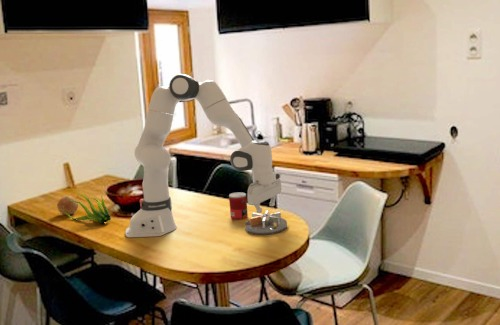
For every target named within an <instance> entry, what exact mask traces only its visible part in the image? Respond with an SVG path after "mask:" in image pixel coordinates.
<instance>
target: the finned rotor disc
mask: <svg viewBox="0 0 500 325" xmlns="http://www.w3.org/2000/svg"><path fill="white" fill-rule="evenodd" d="M281 218H282V213H281V211H279V212H273V213H270V212H269V210H268V209H267V210H266V209H265V213H257V212H252V213H251V217H250V218H249V220H250V226H255V225H260V224H263V228H266V225H268V224H272V225H274V223H276V225H278V226H279V225H280V220H281Z"/></svg>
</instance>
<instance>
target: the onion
mask: <svg viewBox="0 0 500 325" xmlns="http://www.w3.org/2000/svg"><path fill="white" fill-rule="evenodd" d="M66 199H68V200H66ZM69 200H72V201H77V200H76V198H75V197H73V196H72V195H69V194H68V195H67V194H66V195H64V196H62V197H61V198H60V199H59V200H58V201H57V204H56V206H57V207H56V208H57V210H58V212H59V214H60V213H61V215H64V216H68V215H70V214H71V215H73V214H75V213H76V211H77V210H78V207H79V203H76V202H72V201H69ZM66 213H67V214H68V215H67V214H66ZM71 215H70V216H71Z"/></svg>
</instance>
